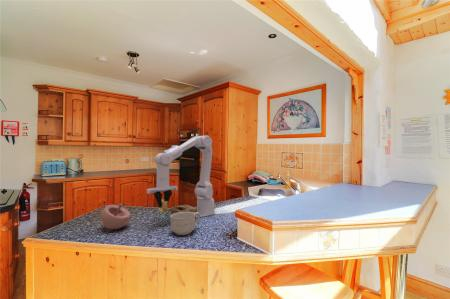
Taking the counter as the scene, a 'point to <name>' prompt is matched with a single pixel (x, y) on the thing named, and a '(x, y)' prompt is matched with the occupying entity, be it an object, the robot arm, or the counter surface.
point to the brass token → (163, 206)
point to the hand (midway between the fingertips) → (162, 206)
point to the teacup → (184, 222)
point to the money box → (183, 209)
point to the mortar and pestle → (115, 216)
